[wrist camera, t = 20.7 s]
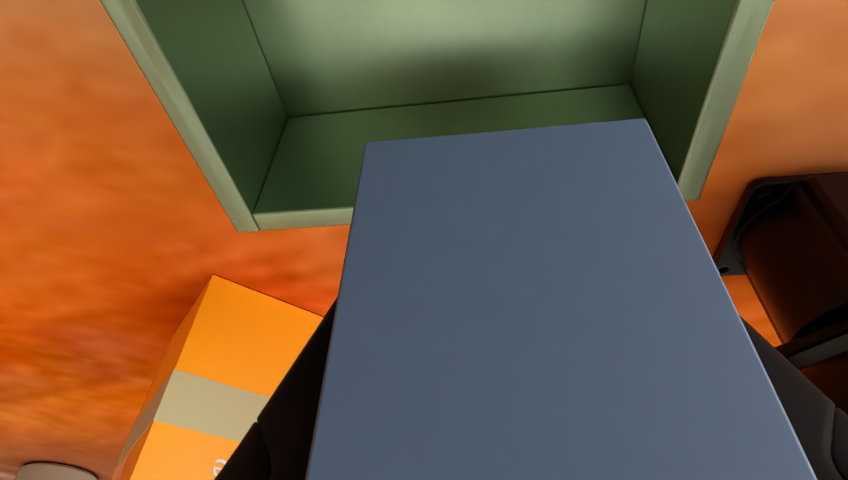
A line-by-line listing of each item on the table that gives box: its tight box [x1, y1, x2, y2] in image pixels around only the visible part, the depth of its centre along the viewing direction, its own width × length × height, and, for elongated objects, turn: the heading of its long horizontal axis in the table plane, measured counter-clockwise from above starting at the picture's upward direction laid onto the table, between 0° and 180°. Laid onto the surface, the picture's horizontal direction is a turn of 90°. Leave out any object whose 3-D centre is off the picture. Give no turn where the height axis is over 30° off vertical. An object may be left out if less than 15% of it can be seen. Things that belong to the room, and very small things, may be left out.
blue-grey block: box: [305, 118, 817, 480], centre depth 8 cm, size 5×5×6 cm
